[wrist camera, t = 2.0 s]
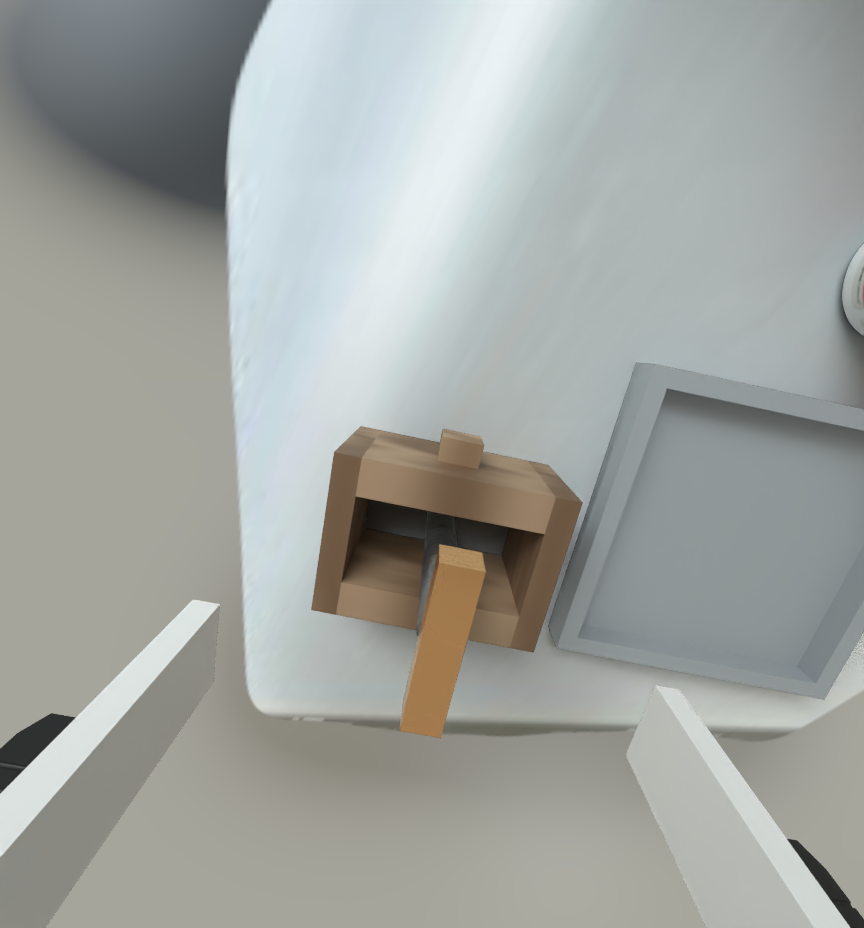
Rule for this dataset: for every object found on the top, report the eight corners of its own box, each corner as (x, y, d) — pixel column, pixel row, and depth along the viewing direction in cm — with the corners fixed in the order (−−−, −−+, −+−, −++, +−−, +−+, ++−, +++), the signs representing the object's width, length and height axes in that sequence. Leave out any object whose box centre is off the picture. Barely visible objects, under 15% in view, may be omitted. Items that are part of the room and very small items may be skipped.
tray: (636, 362, 22) (655, 363, 20) (933, 426, 23) (979, 434, 21) (548, 626, 27) (556, 648, 25) (797, 674, 27) (824, 699, 25)
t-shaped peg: (438, 456, 24) (435, 562, 12) (465, 461, 24) (489, 572, 12) (417, 554, 25) (396, 730, 14) (442, 559, 26) (443, 738, 14)
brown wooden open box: (340, 550, 26) (311, 609, 20) (364, 405, 23) (338, 424, 17) (513, 584, 26) (533, 652, 20) (554, 445, 23) (591, 477, 18)
